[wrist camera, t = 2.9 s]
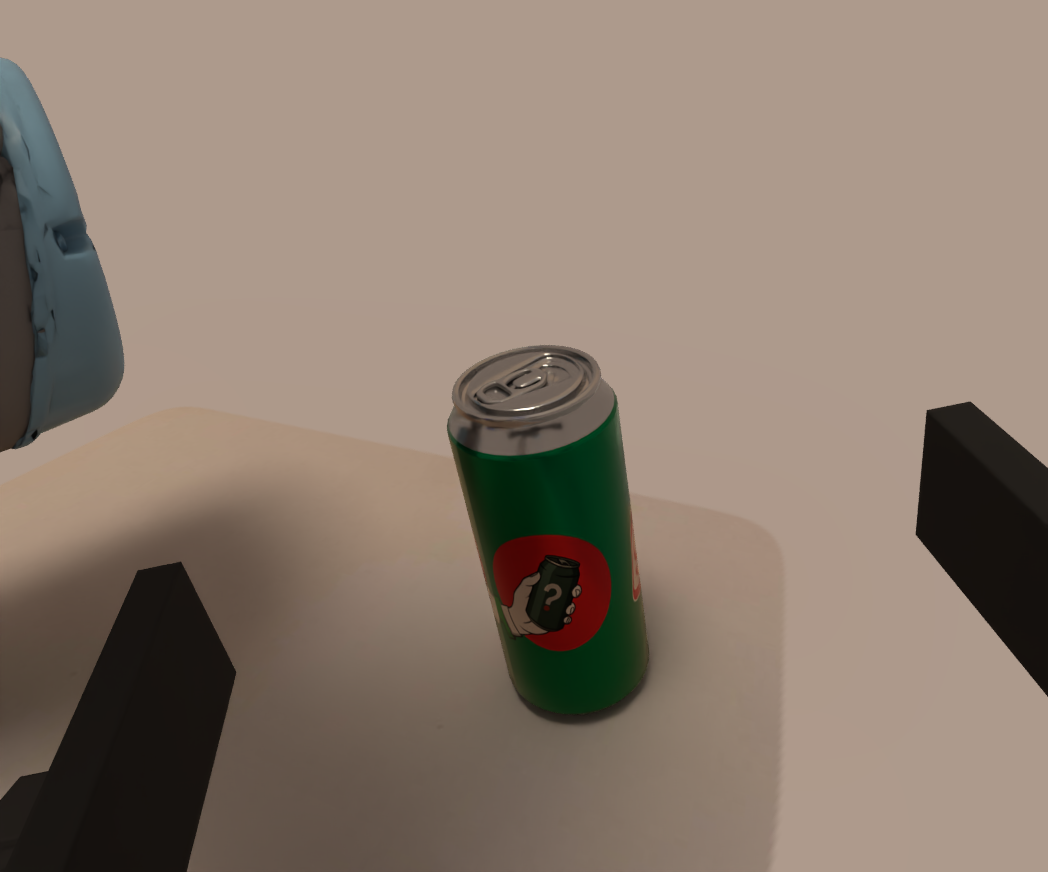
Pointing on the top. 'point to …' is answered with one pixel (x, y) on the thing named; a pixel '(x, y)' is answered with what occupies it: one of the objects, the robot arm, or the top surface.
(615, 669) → the soda can
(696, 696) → the top surface
